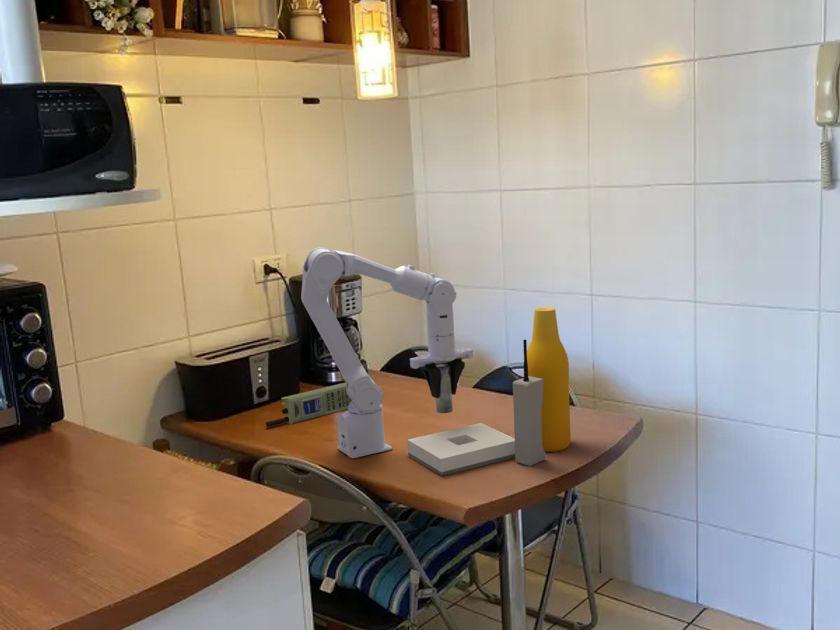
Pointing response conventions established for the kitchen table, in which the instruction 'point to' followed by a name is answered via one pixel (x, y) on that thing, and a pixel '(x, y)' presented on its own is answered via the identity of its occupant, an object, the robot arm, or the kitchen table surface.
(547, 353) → the beer bottle
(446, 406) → the steel pin
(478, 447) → the grey hole plate
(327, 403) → the handheld radio
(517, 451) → the vintage mobile phone
